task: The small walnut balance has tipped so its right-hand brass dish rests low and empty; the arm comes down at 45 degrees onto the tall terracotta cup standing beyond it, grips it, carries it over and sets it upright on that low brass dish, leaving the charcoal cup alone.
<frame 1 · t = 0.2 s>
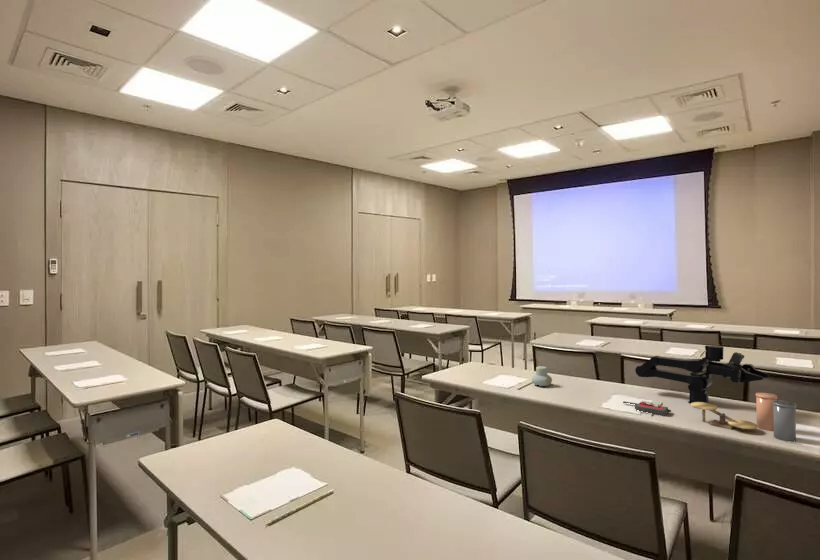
hand: (766, 377, 185), 17 cm above the table, tool horizontal, fingers open, 9 cm apart
walkie-talkie: (644, 411, 197), on the table
terracotta cup: (766, 428, 172), on the table
balance: (722, 425, 176), on the table
air freshener: (541, 385, 244), on the table
charcoal cup: (784, 438, 162), on the table
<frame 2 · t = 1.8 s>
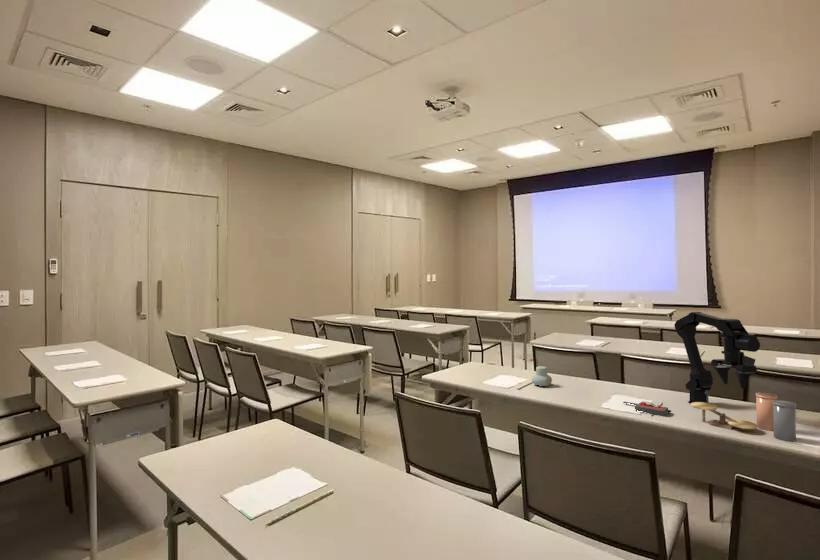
hand: (734, 386, 187), 13 cm above the table, tool pointing down, fingers open, 9 cm apart
nothing on the table moved.
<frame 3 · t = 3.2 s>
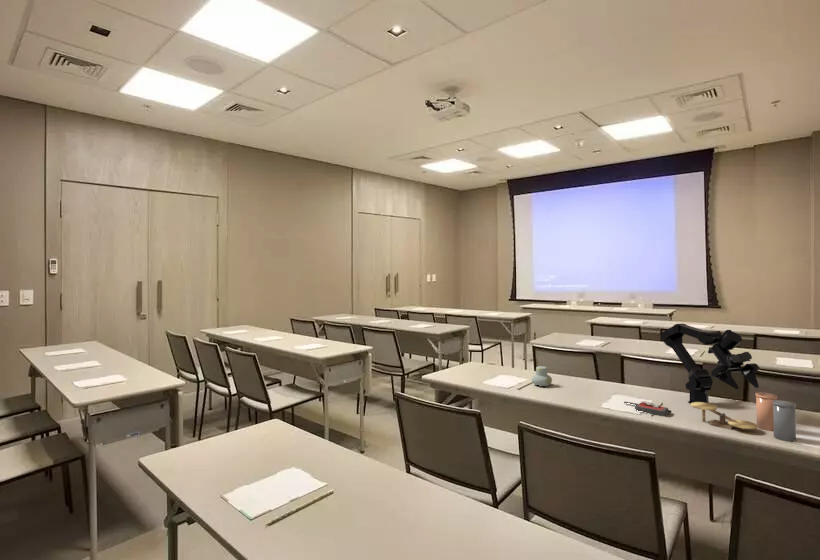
hand: (747, 388, 180), 13 cm above the table, tool tilted 45°, fingers open, 9 cm apart
nothing on the table moved.
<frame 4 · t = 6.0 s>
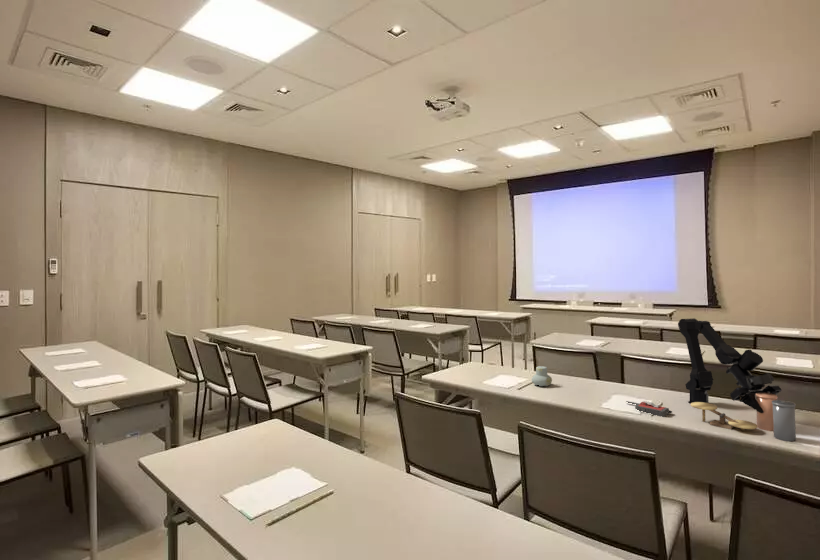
hand: (770, 412, 171), 7 cm above the table, tool tilted 45°, fingers closed on terracotta cup, 6 cm apart
terracotta cup: (766, 428, 172), on the table, touching gripper
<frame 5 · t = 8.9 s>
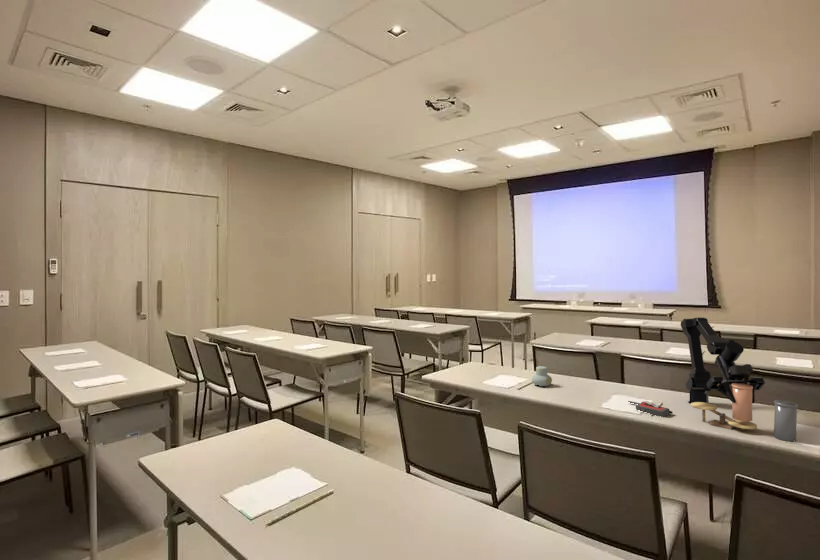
hand: (744, 402, 170), 11 cm above the table, tool tilted 45°, fingers closed on terracotta cup, 6 cm apart
terracotta cup: (742, 418, 171), point 4 cm above the table, touching gripper
when the fingers open (11 cm above the table, at t = 9.0 s): terracotta cup drops 1 cm, resting on balance.
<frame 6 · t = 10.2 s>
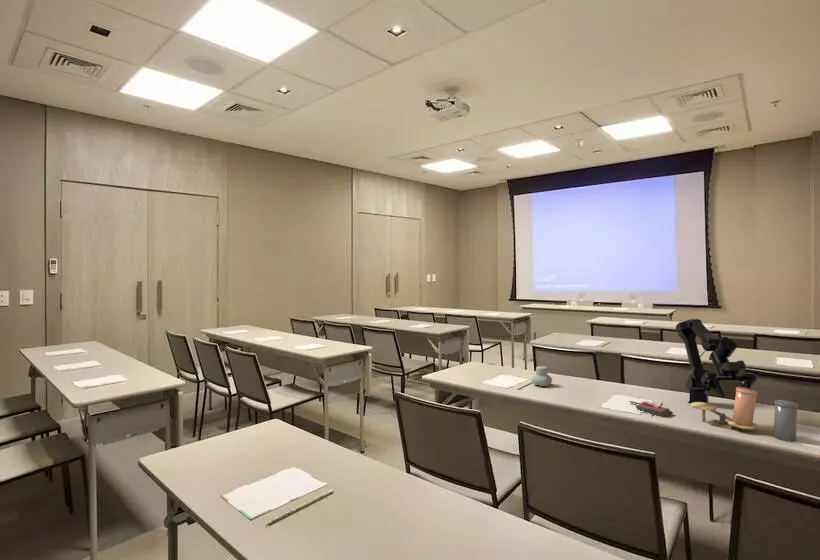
hand: (736, 398, 174), 11 cm above the table, tool tilted 45°, fingers open, 9 cm apart
terracotta cup: (742, 422, 171), point 3 cm above the table, tilted 6°, touching balance
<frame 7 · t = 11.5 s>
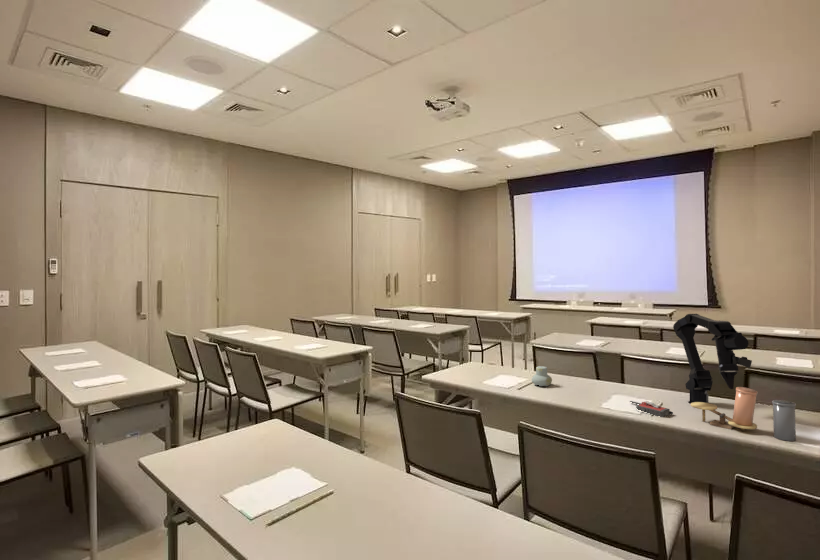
hand: (731, 388, 185), 12 cm above the table, tool pointing down, fingers open, 9 cm apart
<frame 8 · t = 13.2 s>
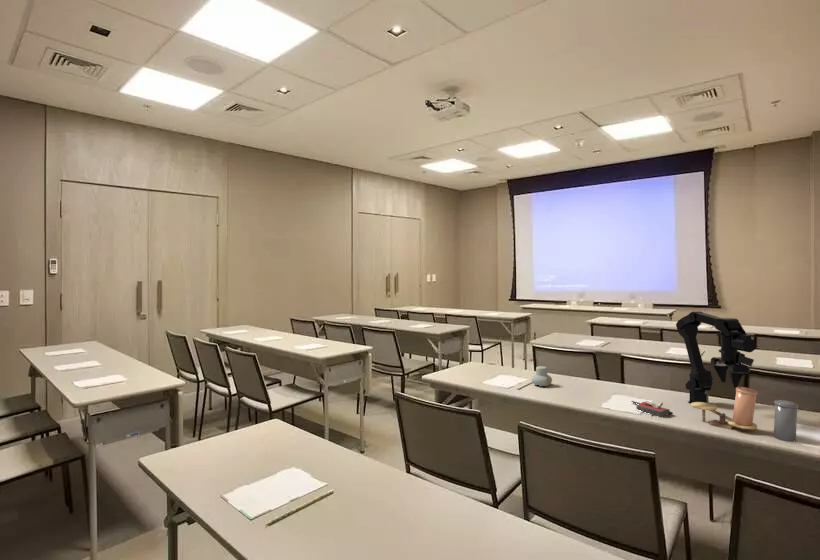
hand: (729, 385, 187), 13 cm above the table, tool pointing down, fingers open, 9 cm apart
at the end: terracotta cup inside the target area on the balance (0.1 cm from its centre), point 2.8 cm above the balance's base; terracotta cup tilted 6°; the gripper is holding nothing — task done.
